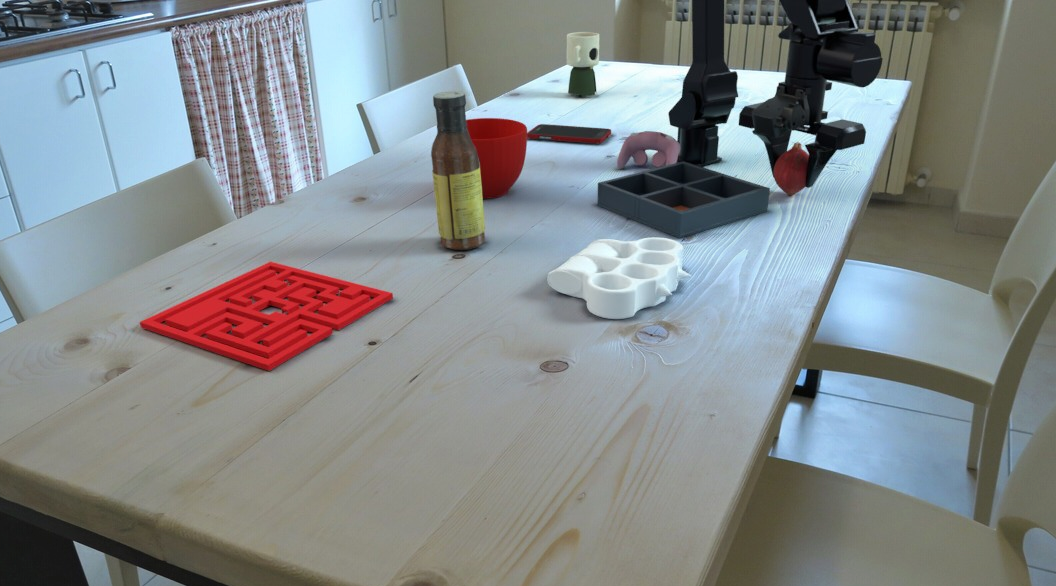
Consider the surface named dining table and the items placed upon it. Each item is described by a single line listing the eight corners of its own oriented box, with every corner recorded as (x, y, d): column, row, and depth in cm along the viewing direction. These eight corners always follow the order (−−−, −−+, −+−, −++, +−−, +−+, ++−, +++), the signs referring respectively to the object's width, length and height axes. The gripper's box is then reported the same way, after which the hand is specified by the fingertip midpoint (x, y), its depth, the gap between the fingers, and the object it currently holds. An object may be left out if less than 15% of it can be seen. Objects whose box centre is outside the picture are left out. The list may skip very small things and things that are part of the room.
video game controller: (677, 178, 147) (685, 136, 147) (671, 173, 143) (679, 130, 143) (621, 172, 151) (628, 131, 151) (613, 167, 147) (621, 125, 146)
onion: (812, 202, 131) (820, 148, 127) (771, 200, 132) (778, 147, 128) (808, 190, 136) (816, 138, 132) (769, 188, 137) (776, 137, 133)
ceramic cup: (409, 200, 136) (404, 135, 131) (486, 174, 147) (483, 113, 142) (468, 218, 128) (465, 150, 123) (545, 189, 139) (544, 126, 134)
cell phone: (601, 144, 161) (601, 139, 160) (525, 138, 165) (525, 133, 165) (612, 134, 167) (612, 128, 166) (539, 128, 172) (539, 123, 171)
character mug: (590, 102, 191) (592, 38, 185) (559, 100, 194) (559, 37, 187) (604, 91, 200) (605, 30, 194) (574, 89, 202) (574, 29, 196)
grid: (597, 205, 132) (597, 182, 130) (681, 182, 140) (683, 161, 139) (679, 238, 119) (681, 213, 118) (767, 211, 128) (770, 188, 126)
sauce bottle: (492, 238, 121) (486, 89, 112) (475, 254, 116) (468, 100, 106) (448, 233, 123) (438, 87, 113) (429, 249, 118) (418, 98, 108)
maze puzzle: (269, 370, 90) (268, 365, 89) (140, 327, 99) (139, 322, 99) (393, 298, 104) (392, 293, 104) (271, 266, 114) (270, 261, 113)
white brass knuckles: (602, 250, 116) (708, 271, 109) (533, 301, 103) (650, 329, 96) (602, 226, 114) (711, 246, 108) (533, 275, 101) (651, 301, 94)
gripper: (717, 73, 128) (708, 178, 136) (823, 94, 115) (807, 209, 122) (769, 63, 134) (758, 164, 141) (877, 82, 120) (858, 193, 128)
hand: (792, 182), depth 133 cm, fingers closed on onion, 6 cm apart
